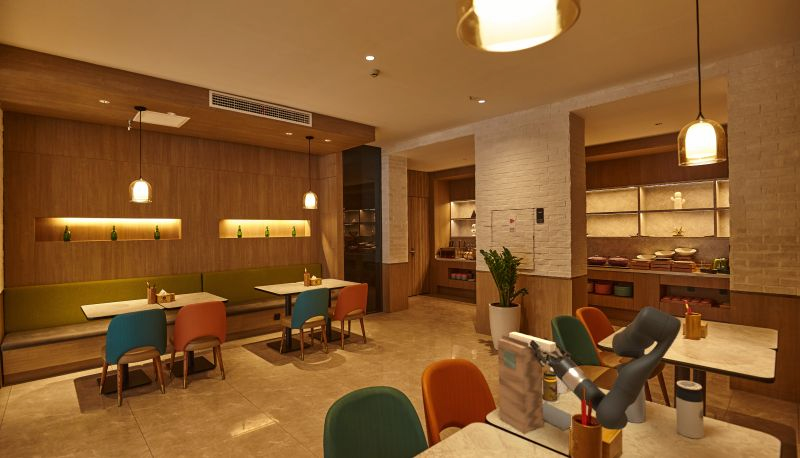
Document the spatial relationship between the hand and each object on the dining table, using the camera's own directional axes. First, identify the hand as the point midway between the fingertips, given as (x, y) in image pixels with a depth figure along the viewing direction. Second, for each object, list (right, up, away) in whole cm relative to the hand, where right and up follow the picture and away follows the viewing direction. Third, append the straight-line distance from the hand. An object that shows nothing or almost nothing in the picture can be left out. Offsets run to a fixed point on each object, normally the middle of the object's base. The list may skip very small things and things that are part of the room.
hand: (537, 340), depth 148 cm
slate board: (+11, -34, +13) cm, 38 cm away
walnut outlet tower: (-3, -35, +9) cm, 36 cm away
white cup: (+23, -34, +37) cm, 55 cm away
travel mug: (+55, -33, -2) cm, 64 cm away
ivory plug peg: (-1, -3, +3) cm, 4 cm away
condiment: (+15, -34, +29) cm, 48 cm away
